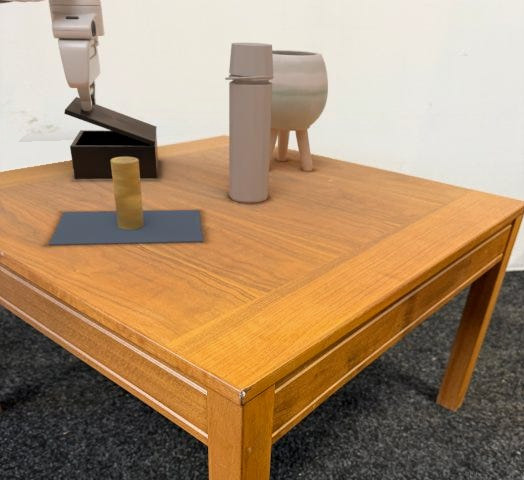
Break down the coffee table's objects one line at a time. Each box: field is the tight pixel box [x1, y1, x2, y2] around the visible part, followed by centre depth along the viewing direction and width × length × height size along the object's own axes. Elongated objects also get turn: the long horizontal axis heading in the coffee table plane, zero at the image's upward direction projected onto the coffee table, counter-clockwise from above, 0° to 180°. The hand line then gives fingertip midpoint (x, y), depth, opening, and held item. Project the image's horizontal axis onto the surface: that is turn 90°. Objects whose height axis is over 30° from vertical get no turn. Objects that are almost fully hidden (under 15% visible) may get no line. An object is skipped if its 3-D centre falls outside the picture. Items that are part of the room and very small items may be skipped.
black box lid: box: [64, 86, 157, 146], centre depth 107 cm, size 17×15×5 cm
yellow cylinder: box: [111, 157, 144, 230], centre depth 83 cm, size 4×4×10 cm
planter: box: [269, 49, 329, 172], centre depth 114 cm, size 16×16×22 cm
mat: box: [48, 209, 204, 247], centre depth 86 cm, size 22×14×1 cm, turn 98°
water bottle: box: [224, 42, 274, 204], centre depth 95 cm, size 9×8×25 cm
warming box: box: [69, 129, 159, 180], centre depth 111 cm, size 16×15×7 cm
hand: (89, 107), depth 106 cm, fingers closed on black box lid, 5 cm apart
